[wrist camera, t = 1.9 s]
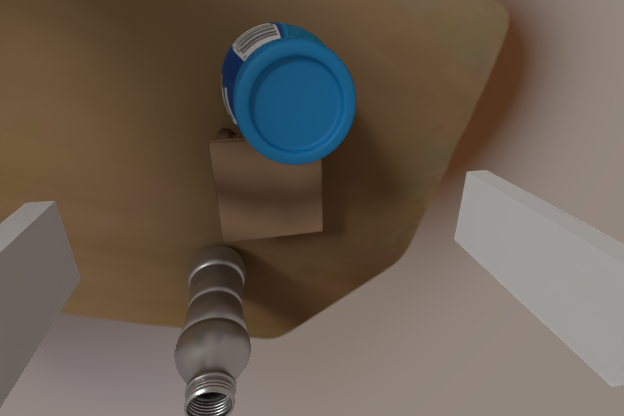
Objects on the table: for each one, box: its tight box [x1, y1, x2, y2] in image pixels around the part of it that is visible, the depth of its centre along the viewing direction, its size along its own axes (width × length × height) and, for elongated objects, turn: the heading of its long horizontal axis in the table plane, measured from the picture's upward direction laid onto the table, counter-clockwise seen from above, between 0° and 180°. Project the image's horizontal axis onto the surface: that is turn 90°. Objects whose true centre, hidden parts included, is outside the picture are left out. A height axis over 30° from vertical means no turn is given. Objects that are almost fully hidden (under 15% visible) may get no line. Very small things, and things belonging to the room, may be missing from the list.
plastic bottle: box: [174, 246, 251, 416], centre depth 37 cm, size 6×7×20 cm
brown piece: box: [209, 128, 323, 243], centre depth 38 cm, size 10×10×7 cm
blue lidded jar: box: [221, 23, 356, 165], centre depth 29 cm, size 8×8×20 cm
